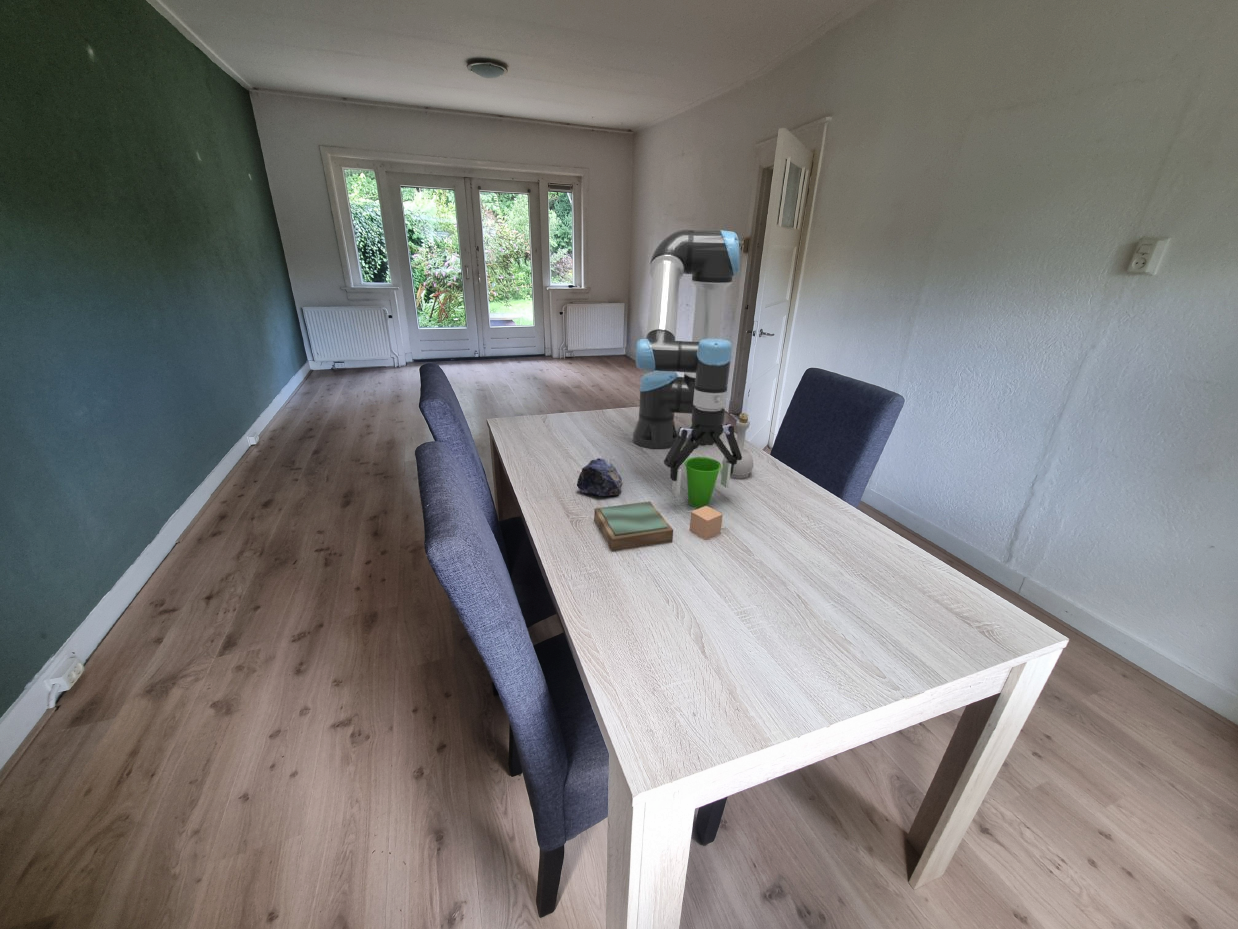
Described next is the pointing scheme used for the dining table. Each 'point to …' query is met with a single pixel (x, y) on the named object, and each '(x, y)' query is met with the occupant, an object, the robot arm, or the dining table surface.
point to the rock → (599, 478)
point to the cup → (701, 479)
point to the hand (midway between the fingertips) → (700, 488)
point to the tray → (632, 526)
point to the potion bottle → (742, 450)
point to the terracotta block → (706, 522)
